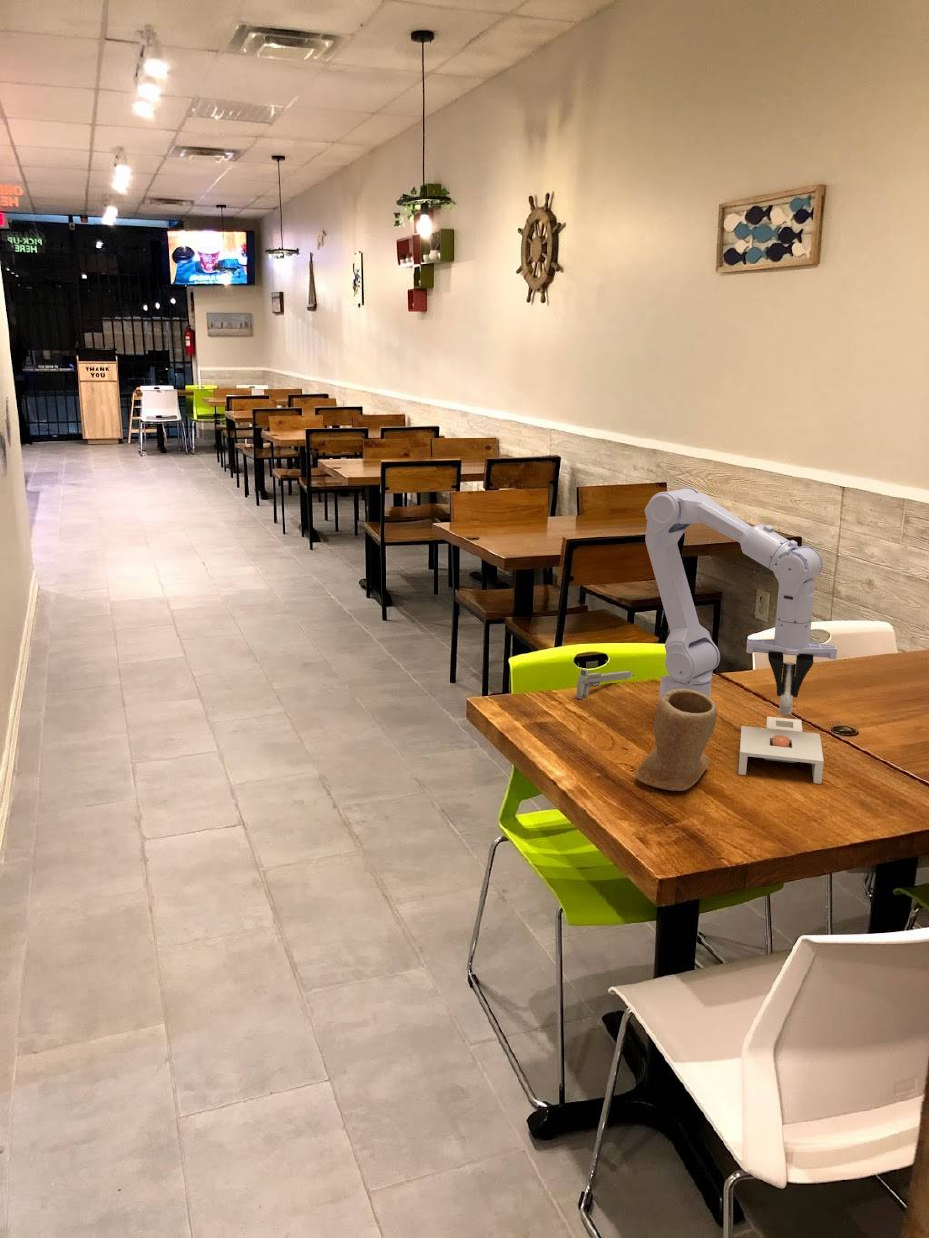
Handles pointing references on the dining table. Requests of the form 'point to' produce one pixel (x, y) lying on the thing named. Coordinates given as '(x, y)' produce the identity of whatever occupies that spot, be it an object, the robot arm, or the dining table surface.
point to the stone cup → (679, 740)
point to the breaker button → (780, 745)
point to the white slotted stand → (781, 748)
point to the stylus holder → (784, 724)
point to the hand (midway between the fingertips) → (786, 694)
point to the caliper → (596, 680)
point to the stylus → (787, 688)
